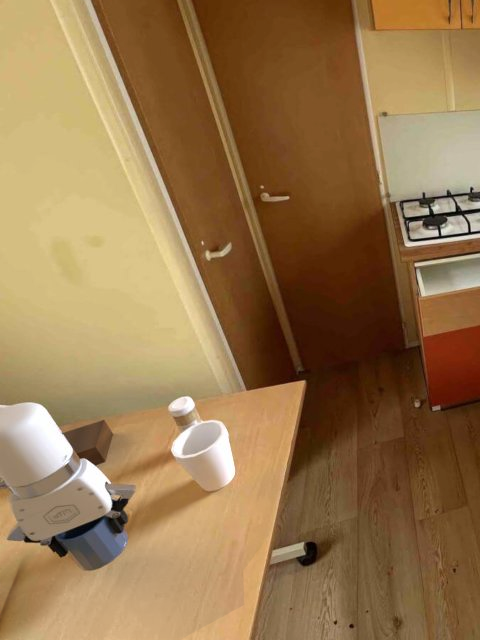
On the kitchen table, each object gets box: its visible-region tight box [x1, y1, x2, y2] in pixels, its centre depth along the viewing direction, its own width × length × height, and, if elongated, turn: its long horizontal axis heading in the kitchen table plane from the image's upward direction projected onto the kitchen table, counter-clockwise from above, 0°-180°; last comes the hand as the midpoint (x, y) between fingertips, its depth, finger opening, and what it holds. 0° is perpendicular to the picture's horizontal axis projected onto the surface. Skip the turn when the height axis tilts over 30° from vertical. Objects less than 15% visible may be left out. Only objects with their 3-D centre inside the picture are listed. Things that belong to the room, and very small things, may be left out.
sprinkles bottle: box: [167, 396, 204, 434], centre depth 99 cm, size 5×5×14 cm
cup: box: [55, 516, 129, 572], centre depth 75 cm, size 7×7×9 cm
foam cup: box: [170, 419, 236, 493], centre depth 91 cm, size 10×9×13 cm
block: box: [62, 419, 114, 466], centre depth 97 cm, size 9×9×5 cm
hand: (94, 536), depth 75 cm, fingers closed on cup, 6 cm apart
